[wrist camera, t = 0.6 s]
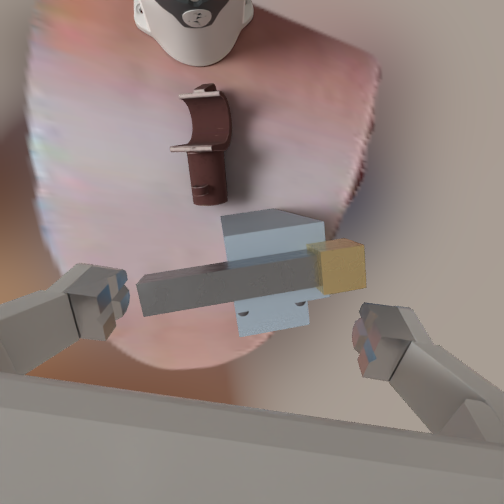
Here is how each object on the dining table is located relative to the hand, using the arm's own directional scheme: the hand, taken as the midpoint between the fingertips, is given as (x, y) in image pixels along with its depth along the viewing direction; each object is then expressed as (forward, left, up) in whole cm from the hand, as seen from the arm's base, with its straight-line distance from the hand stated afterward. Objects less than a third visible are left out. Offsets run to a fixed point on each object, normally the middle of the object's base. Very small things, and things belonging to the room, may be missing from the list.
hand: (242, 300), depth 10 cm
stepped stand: (+8, +5, -44) cm, 45 cm away
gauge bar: (+4, +2, -18) cm, 19 cm away
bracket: (-12, -1, -44) cm, 46 cm away
